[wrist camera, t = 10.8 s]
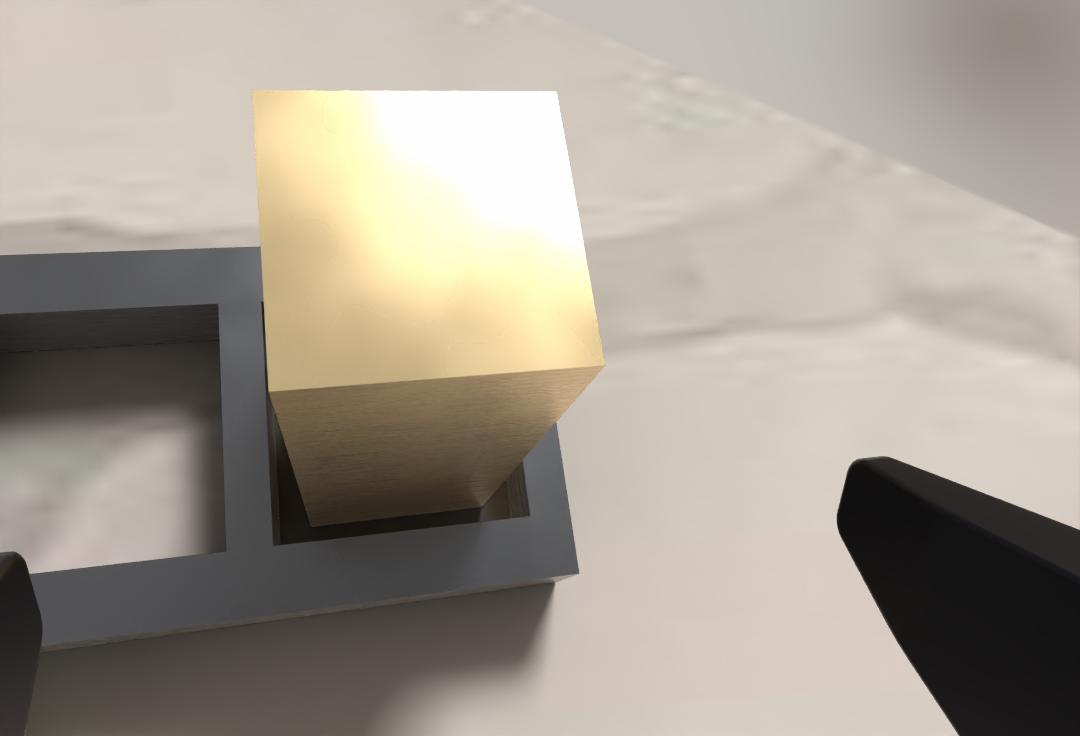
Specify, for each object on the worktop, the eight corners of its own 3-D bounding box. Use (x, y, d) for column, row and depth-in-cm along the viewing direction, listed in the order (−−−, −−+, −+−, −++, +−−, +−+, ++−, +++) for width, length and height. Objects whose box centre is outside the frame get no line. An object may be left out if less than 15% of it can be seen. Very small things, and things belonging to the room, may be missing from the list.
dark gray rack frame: (555, 582, 23) (579, 573, 20) (-85, 669, 19) (-146, 671, 17) (511, 276, 25) (527, 237, 23) (-58, 301, 22) (-107, 259, 19)
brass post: (482, 506, 23) (605, 365, 12) (310, 526, 22) (268, 391, 11) (462, 351, 24) (556, 91, 13) (300, 362, 23) (251, 90, 12)
